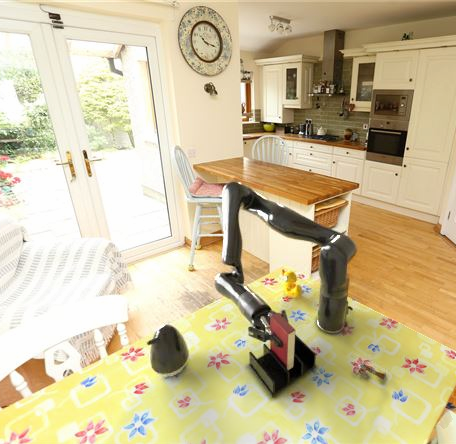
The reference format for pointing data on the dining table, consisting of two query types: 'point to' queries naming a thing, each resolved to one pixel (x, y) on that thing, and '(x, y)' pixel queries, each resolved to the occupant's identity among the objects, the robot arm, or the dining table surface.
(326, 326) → the robot arm
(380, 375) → the brown two-tone jointed fixture
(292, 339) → the book
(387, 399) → the dining table surface
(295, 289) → the duckling
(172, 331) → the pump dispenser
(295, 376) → the book rack
